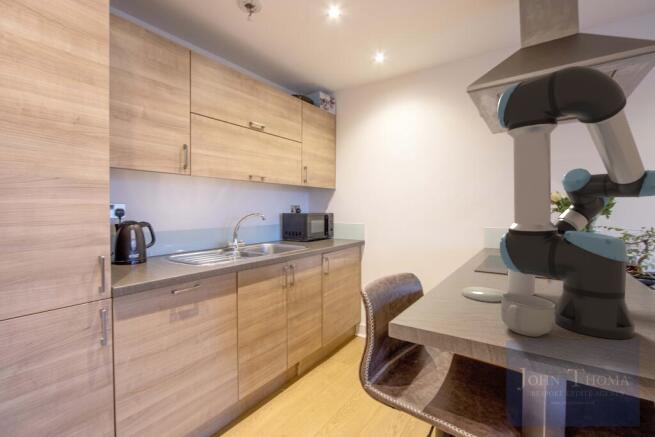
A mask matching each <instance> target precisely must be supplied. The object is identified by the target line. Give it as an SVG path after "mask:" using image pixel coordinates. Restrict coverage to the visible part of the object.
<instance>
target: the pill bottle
mask: <svg viewBox="0 0 655 437" xmlns="http://www.w3.org/2000/svg"><path fill="white" fill-rule="evenodd" d="M535 286H536V275H530V274H527V275H526V274H522V273H520V272H515V271H512V270H510V269H508V268H507V291H508V293H520V294H527V295H532V296H535V292H536V287H535Z"/></svg>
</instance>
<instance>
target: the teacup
mask: <svg viewBox="0 0 655 437" xmlns="http://www.w3.org/2000/svg"><path fill="white" fill-rule="evenodd" d="M501 297H502V302H500V303H501V304H500V318H501V320H502V322H503V323H504V325H506V326H507V327H508V328H509V330H511V331H512V332H514V333H516V334H519V335H522V336H526V337H536V338H537V337H541V336H543V335H546V334H547V333H549V332H550V331H551V330H552V328H553V324H554V311H555V309H556V306H557V305H556V304H555V303H554V302H552V301H550V300H548V299H546V298H543V297H540V296H536V295H527V294H520V293H510V292H506V293H505V294H502V296H501Z"/></svg>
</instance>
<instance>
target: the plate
mask: <svg viewBox="0 0 655 437" xmlns="http://www.w3.org/2000/svg"><path fill="white" fill-rule="evenodd" d="M505 293H507V292H505V291H504V290H501V289H496V288H492V287H484V286H468V287H467V286H465V287H464V288H461V295H462V296H463V297H466V298H468V299H470V300H475V301H480V302H488V303H489V302H491V303H502V297H501V296H502V294H505Z"/></svg>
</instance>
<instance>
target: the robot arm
mask: <svg viewBox="0 0 655 437" xmlns="http://www.w3.org/2000/svg"><path fill="white" fill-rule="evenodd" d="M627 101H628V100H627V97H626V94H625V91H624V90H623V88H622V87H621V85H620V84H619V83H618V82H617V81H616V80H615V79H614V78H613V77H611V76H610V75H608V73H606V72H604V71H601V70H599V69H596V68H593V67H590V66H585V65H572V66H567V67H564V68H560V69H558V70H556V71H553V72H552V71H551V72H549V73H546V74H543V75H542V74H541V75H539V76H536V77H532V78H530V79H526V80H522V81H520V82H518V83H516V84H514V85H510V86H509V87H507V88H506V89H505V90H504V91H503V93H502V94H501V95H500V97H499V100H498V103H497V110H496V111H497V119H498V120H499V122H498V123H499V125H500V126H501V127H502V128H504V129H506V134H508V135H509V136H510V137H511V138H512V139H513V201H514V202H513V206H514V207H513V210H514V213H513V214H514V216H513V217H514V221H513V223H512V224H511V225H509V226H508V232H505V233H504V234H503V235H502V236H501V239H500V240H501V241H500V242H499V254H500V255H499V256H500V258H501V260H502V263H503V264H504V266H506V268H507V270H508V269H510V270H512V271H515V272H520V273H522V274H526V275H527V274H530V275H535V277H536V276H538V277H543V278H550V279H555V280H561V281H562V283H563V284H562V285H563V286H562V294H561V296H560V298H559V300H558V303H557V305H555V306H556V307H555V309H554V318H553V322H555V323H556V324H557V325H558V326H560V327H563V328H564V329H567V330H570V331H573V332H577V333H579V334H583V335H587V336H592V337H597V338H603V339H613V340H626V339H631V338H633V337H635V329H636V328H635V322H634V320H633V318H632V316H631V313H630V310H629V307H628V305H627V304H626V303H627V302H626V285H627V284H626V283H627V282H626V280H627V261H628V256H627V245H626V243H625V241H624V240H623V239H621V238H619V237H615V236H612V235H608V234H602V233H595V232H589V231H582V230H583V229H584V228H585V227H586V226H587V225H588V224H589V223H590V222H591V221H592V220H593V219H594V218H595V217H596V216H597V215H598V214H599V213H600V212H601V211H603V210H604V209H605V208H606V206H607V205H608V204H609V203H610V198H642V197H646V198H647V197H654V196H655V170H649V169H646V170H645V167H644V163H643V160H642V157H641V155H640V152H639V149H638V146H637V144H636V141H635V138H634V136H633V132H632V129H631V127H630V124H629V122H628V119H627V116H626V113H625V110H624V109H625V108H626V107H627V103H628V102H627ZM568 116H575V118H576V120H577V121H578V122H579V123H581V124H584V125H585V127H586V129H587V131H588V133H589V135H590V138H591V140H592V142H593V144H594V146H595V148H596V151H597V153H598V155H599V157H600V159H601V161H602V164H603V166H604V168H605V170H606V172H607V173H597V174H596V173H595V174H591V172H589V170H587V169H585V168H578V167H577V168H574V169H571V170H569V171H567V172H566V173H565V174H564V175H562V178H561V183H562V187H563V190H564V191H565V193H566V195H567V197H568V199H569V201H570V203H571V204H570V206H569V207H568V208H567V209H566V210H564V211H563V213H561V215H560V216H558V217H557V219H555V220H554V221H553V222H552V215H551V214H552V212H551V210H552V201H551V200H552V196H551V195H552V194H551V193H552V192H551V186H552V185H551V181H552V180H551V178H552V177H551V176H552V175H551V174H552V171H551V169H552V168H551V163H552V162H551V160H552V159H551V155H552V154H551V152H552V151H551V148H552V147H551V145H552V144H551V135H552V132H553V131H554V130H555V129H557V127H558V119H559V118H564V117H568Z"/></svg>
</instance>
